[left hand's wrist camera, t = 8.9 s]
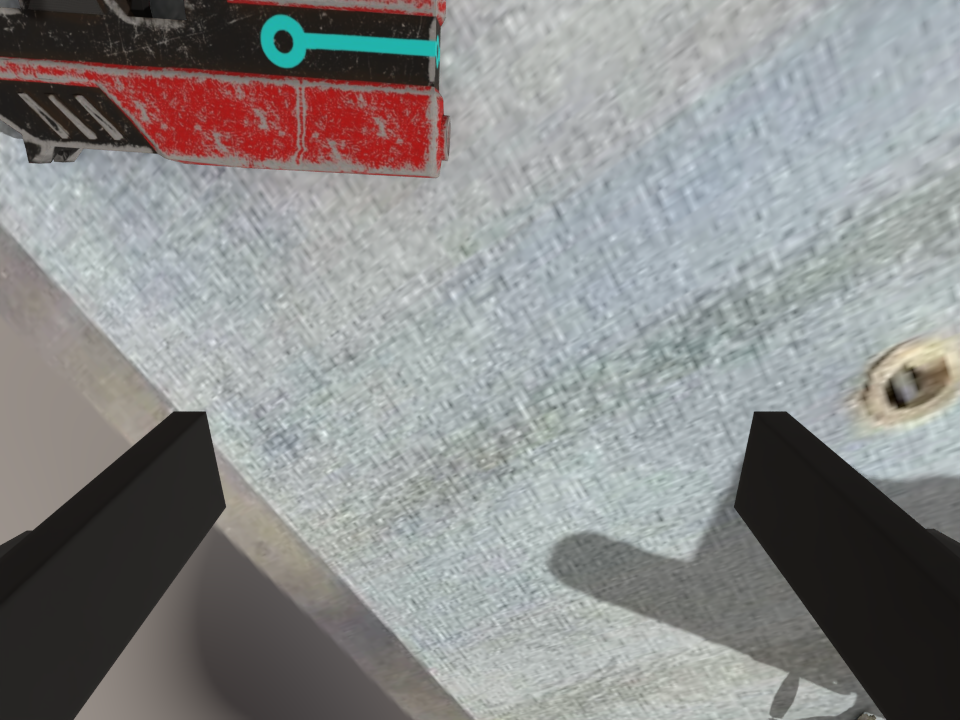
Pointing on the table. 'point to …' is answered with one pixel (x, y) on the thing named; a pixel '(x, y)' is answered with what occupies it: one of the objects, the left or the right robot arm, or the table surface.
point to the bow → (866, 717)
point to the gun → (230, 83)
